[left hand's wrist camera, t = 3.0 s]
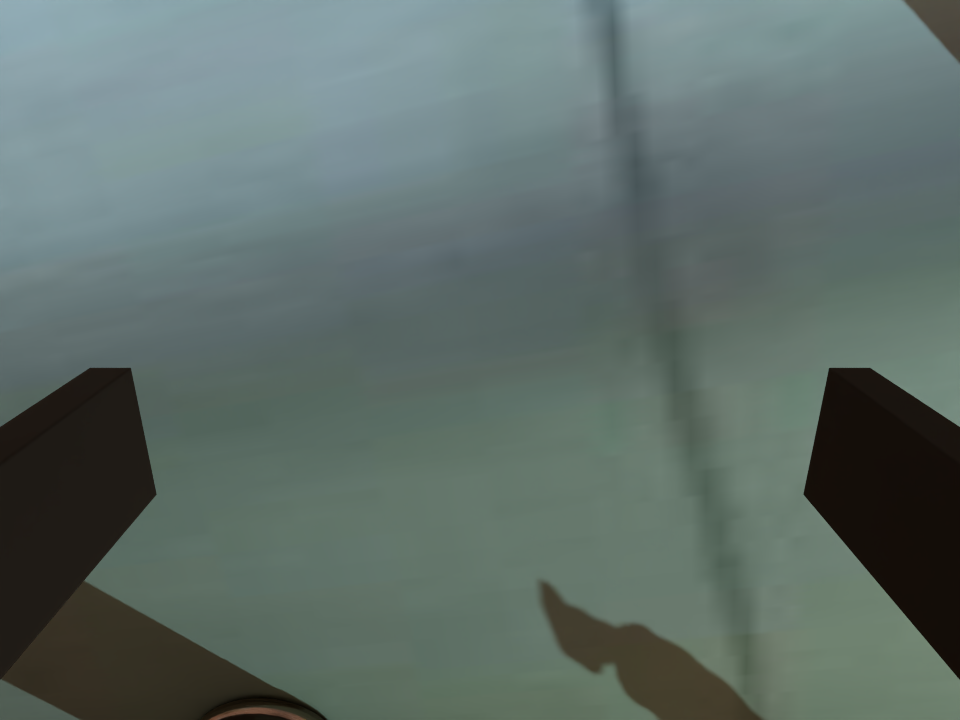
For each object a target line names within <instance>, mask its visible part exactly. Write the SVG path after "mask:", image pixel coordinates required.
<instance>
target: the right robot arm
mask: <svg viewBox="0 0 960 720" xmlns="http://www.w3.org/2000/svg"><path fill="white" fill-rule="evenodd" d="M200 720H323V719H322V718H321V717H319V716H318V715H317V714H315V713H313V712H311V711H310V710H308V709H306V708H303V707H301V706H299V705H296V704H293V703H290V702H286V701H282V700H276V699H268V698H250V699H242V700H236V701H232V702H229V703H226V704H223V705H221V706H219V707H217V708H215V709H213V710H211V711H210V712H208V713H207V714H206V715H205V716H203V717H202V718H201V719H200Z"/></svg>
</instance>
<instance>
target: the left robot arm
mask: <svg viewBox="0 0 960 720" xmlns="http://www.w3.org/2000/svg"><path fill="white" fill-rule="evenodd" d="M155 496H156V490H155V485H154V480H153V475H152V470H151V465H150V460H149V455H148V450H147V445H146V440H145V436H144V431H143V426H142V421H141V416H140V411H139V406H138V401H137V396H136V391H135V386H134V381H133V377H132V372H131V368H89V369H88V370H86V371H85V372H83V373H82V374H80V375H79V376H77V377H76V378H74V379H72V380H71V381H69V382H68V383H66V384H65V385H63V386H62V387H60V388H59V389H57V390H56V391H54V392H53V393H51V394H50V395H48V396H47V397H45V398H44V399H42V400H41V401H39V402H38V403H36V404H35V405H33V406H31V407H30V408H28V409H27V410H25V411H24V412H22V413H21V414H19V415H18V416H16V417H15V418H13V419H12V420H10V421H9V422H7V423H6V424H4V425H3V426H1V427H0V679H1V678H2V677H3V676H4V675H5V673H6V672H7V671H8V670H9V669H10V667H11V666H12V665H13V664H14V663H15V662H16V660H17V659H18V658H19V657H20V656H21V654H22V653H23V652H24V651H25V650H26V648H27V647H28V646H29V645H30V644H31V643H32V641H33V640H34V639H35V638H36V637H37V635H38V634H39V633H40V632H41V631H42V630H43V628H44V627H45V626H46V625H47V624H48V622H49V621H50V620H51V619H52V618H53V616H54V615H55V614H56V613H57V612H58V611H59V609H60V608H61V607H62V606H63V605H64V603H65V602H66V601H67V600H68V599H69V598H70V596H71V595H72V594H73V593H74V592H75V590H76V589H77V588H78V587H79V586H80V584H81V583H82V582H83V581H84V580H85V579H86V577H87V576H88V575H89V574H90V573H91V571H92V570H93V569H94V568H95V567H96V566H97V564H98V563H99V562H100V561H101V560H102V558H103V557H104V556H105V555H106V554H107V552H108V551H109V550H110V549H111V548H112V547H113V545H114V544H115V543H116V542H117V541H118V539H119V538H120V537H121V536H122V535H123V534H124V532H125V531H126V530H127V529H128V528H129V526H130V525H131V524H132V523H133V522H134V520H135V519H136V518H137V517H138V516H139V515H140V513H141V512H142V511H143V510H144V509H145V507H146V506H147V505H148V504H149V503H150V502H151V500H152V499H153V498H154V497H155ZM804 496H805V497H806V498H807V499H808V500H809V502H810V503H811V504H812V505H813V506H814V507H815V509H816V510H817V511H818V512H819V513H820V515H821V516H822V517H823V518H824V519H825V520H826V522H827V523H828V524H829V525H830V526H831V528H832V529H833V530H834V531H835V532H836V534H837V535H838V536H839V537H840V538H841V539H842V541H843V542H844V543H845V544H846V545H847V547H848V548H849V549H850V550H851V551H852V552H853V554H854V555H855V556H856V557H857V558H858V560H859V561H860V562H861V563H862V564H863V566H864V567H865V568H866V569H867V570H868V571H869V573H870V574H871V575H872V576H873V577H874V579H875V580H876V581H877V582H878V583H879V584H880V586H881V587H882V588H883V589H884V590H885V592H886V593H887V594H888V595H889V596H890V598H891V599H892V600H893V601H894V602H895V603H896V605H897V606H898V607H899V608H900V609H901V611H902V612H903V613H904V614H905V615H906V616H907V618H908V619H909V620H910V621H911V622H912V624H913V625H914V626H915V627H916V628H917V630H918V631H919V632H920V633H921V634H922V635H923V637H924V638H925V639H926V640H927V641H928V643H929V644H930V645H931V646H932V647H933V648H934V650H935V651H936V652H937V653H938V654H939V656H940V657H941V658H942V659H943V660H944V662H945V663H946V664H947V665H948V666H949V667H950V669H951V670H952V671H953V672H954V673H955V675H956V676H957V677H958V678H959V679H960V427H959V426H957V425H956V424H954V423H953V422H951V421H950V420H948V419H947V418H945V417H944V416H942V415H941V414H939V413H938V412H936V411H935V410H933V409H932V408H930V407H929V406H927V405H925V404H924V403H922V402H921V401H919V400H918V399H916V398H915V397H913V396H912V395H910V394H909V393H907V392H906V391H904V390H903V389H901V388H900V387H898V386H897V385H895V384H894V383H892V382H891V381H889V380H888V379H886V378H884V377H883V376H881V375H880V374H878V373H877V372H875V371H874V370H872V369H871V368H829V372H828V377H827V381H826V386H825V391H824V396H823V401H822V406H821V411H820V416H819V421H818V426H817V431H816V436H815V440H814V445H813V450H812V455H811V460H810V465H809V470H808V475H807V480H806V485H805V490H804Z"/></svg>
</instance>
